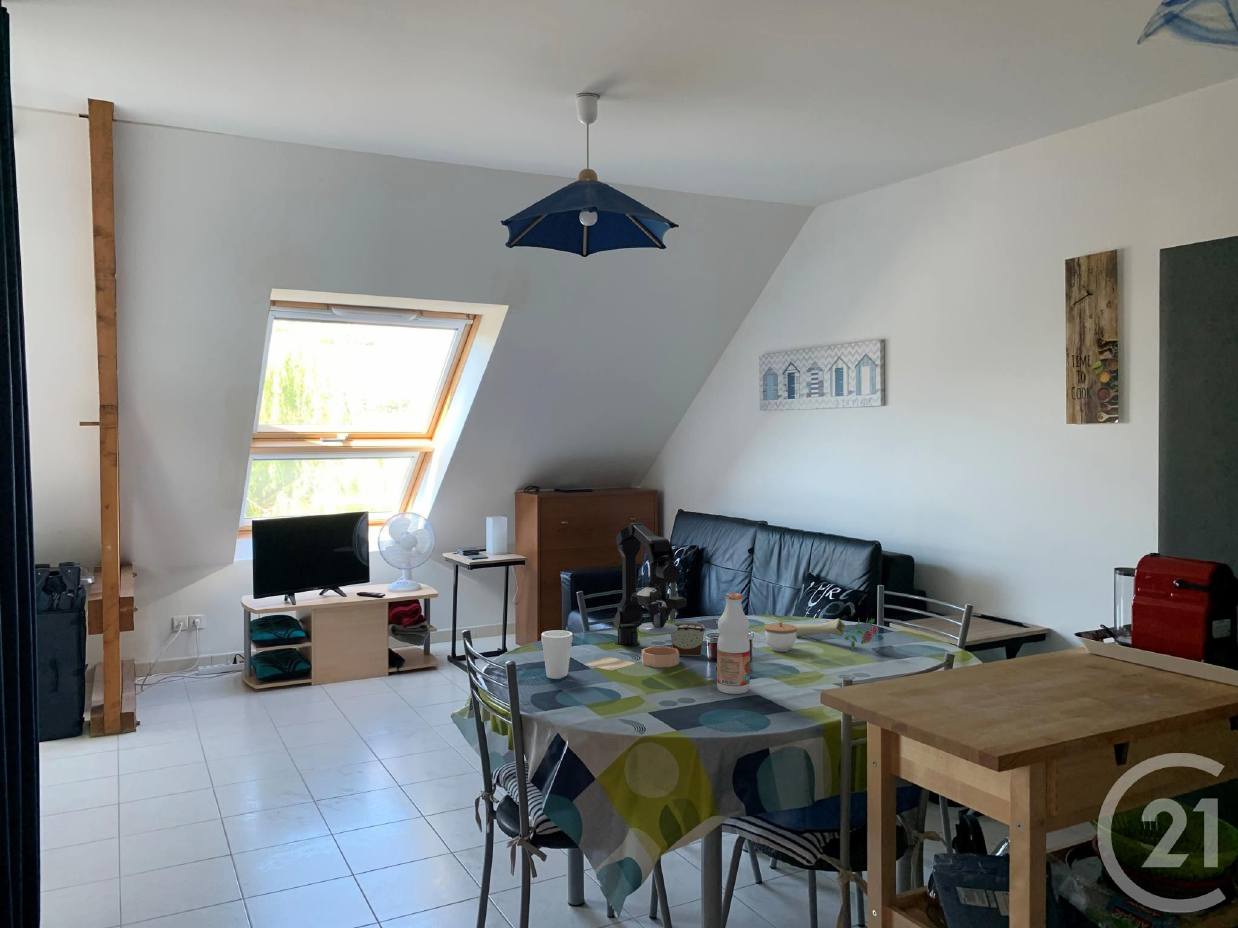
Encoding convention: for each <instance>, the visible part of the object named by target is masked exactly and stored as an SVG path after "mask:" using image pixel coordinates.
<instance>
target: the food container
mask: <svg viewBox="0 0 1238 928" xmlns="http://www.w3.org/2000/svg"><path fill="white" fill-rule="evenodd" d="M672 624H673V625H676V626H677V627H678V631H677V632H675V633H672V634H670V639H671V648H676V649H677V650H678V651H679V656H682V657H683V656H686V657H687V656H691V657H702V653H703V652H702V651H703V643H704V642H703V641H704V635H705V633H706V632H707V631H706V628H705V625H704V624H702V623H698V622H691V621H690V622H689V621H688V622H687V621H683V622H682V621H681V622H674V623H672Z"/></svg>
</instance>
